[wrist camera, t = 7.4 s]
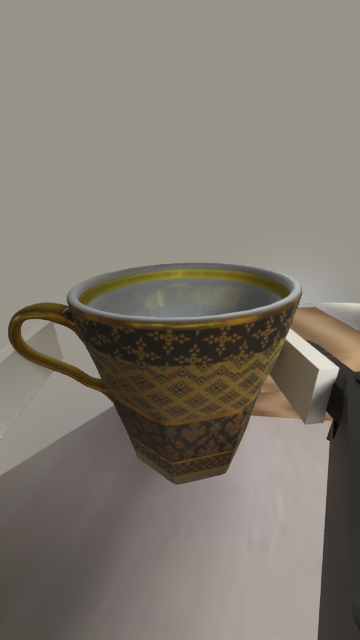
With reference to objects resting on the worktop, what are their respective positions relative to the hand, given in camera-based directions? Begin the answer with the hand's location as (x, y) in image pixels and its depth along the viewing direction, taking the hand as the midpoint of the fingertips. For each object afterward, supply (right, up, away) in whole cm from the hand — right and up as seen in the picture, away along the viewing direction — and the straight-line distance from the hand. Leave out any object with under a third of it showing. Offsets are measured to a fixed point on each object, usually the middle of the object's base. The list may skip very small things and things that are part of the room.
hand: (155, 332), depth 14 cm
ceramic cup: (+1, -7, 0) cm, 7 cm away
